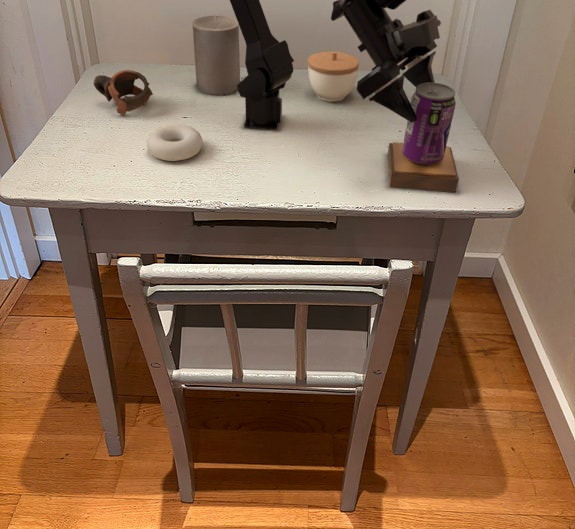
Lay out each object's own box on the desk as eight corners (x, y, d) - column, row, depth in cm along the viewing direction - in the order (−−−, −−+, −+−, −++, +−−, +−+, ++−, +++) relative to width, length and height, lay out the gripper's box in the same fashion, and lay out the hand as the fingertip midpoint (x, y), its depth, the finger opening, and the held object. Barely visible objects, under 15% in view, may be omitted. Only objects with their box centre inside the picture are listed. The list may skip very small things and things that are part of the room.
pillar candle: (193, 80, 129) (188, 10, 119) (236, 76, 131) (233, 7, 121) (200, 97, 121) (195, 24, 112) (245, 93, 124) (243, 21, 114)
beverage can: (434, 172, 94) (449, 103, 86) (394, 160, 96) (406, 92, 89) (448, 154, 98) (464, 87, 91) (410, 143, 101) (422, 77, 93)
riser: (389, 187, 95) (392, 171, 93) (387, 155, 104) (389, 140, 102) (455, 192, 95) (459, 176, 93) (448, 159, 103) (451, 145, 101)
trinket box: (337, 82, 129) (341, 40, 123) (365, 100, 122) (370, 56, 116) (297, 91, 125) (298, 48, 119) (323, 110, 118) (326, 65, 112)
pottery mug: (156, 97, 122) (157, 72, 114) (145, 133, 118) (145, 109, 111) (100, 81, 120) (97, 54, 113) (86, 116, 116) (82, 91, 109)
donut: (141, 145, 105) (157, 169, 98) (138, 127, 103) (154, 151, 96) (192, 134, 109) (211, 157, 102) (190, 117, 106) (210, 139, 99)
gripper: (385, 9, 78) (445, 106, 80) (436, -18, 90) (486, 67, 93) (331, 54, 86) (387, 141, 89) (384, 24, 98) (432, 100, 101)
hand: (425, 110), depth 92 cm, fingers open, 9 cm apart
